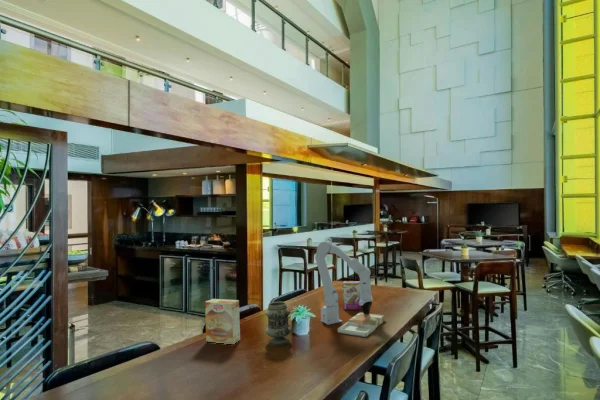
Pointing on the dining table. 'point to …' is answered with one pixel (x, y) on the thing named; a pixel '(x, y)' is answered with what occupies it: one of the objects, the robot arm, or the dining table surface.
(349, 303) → the candy bar box
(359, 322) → the front tile
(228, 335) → the coffeecake box
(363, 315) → the back tile
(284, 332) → the carved stone vase
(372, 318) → the plate
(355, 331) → the box
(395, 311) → the dining table surface
